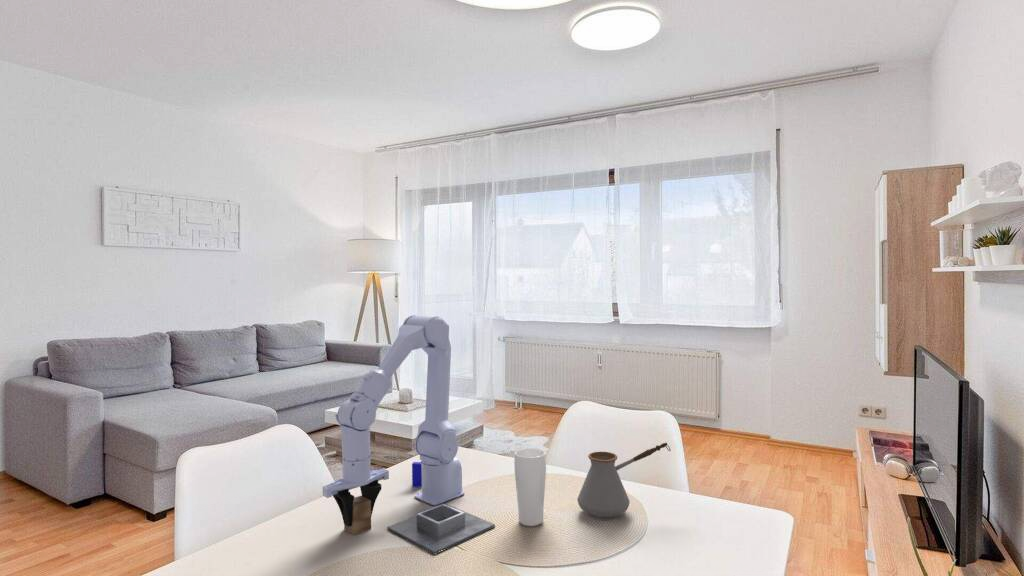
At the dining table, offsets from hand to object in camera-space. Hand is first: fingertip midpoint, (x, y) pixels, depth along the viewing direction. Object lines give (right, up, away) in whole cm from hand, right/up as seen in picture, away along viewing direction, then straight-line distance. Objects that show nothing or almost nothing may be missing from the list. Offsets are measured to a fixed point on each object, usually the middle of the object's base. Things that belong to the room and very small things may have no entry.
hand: (357, 521), depth 117 cm
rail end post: (0, -2, 0) cm, 2 cm away
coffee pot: (+58, -1, +7) cm, 58 cm away
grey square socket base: (+18, -1, 0) cm, 18 cm away
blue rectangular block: (+9, -2, +30) cm, 31 cm away
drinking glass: (+37, -1, +2) cm, 37 cm away
